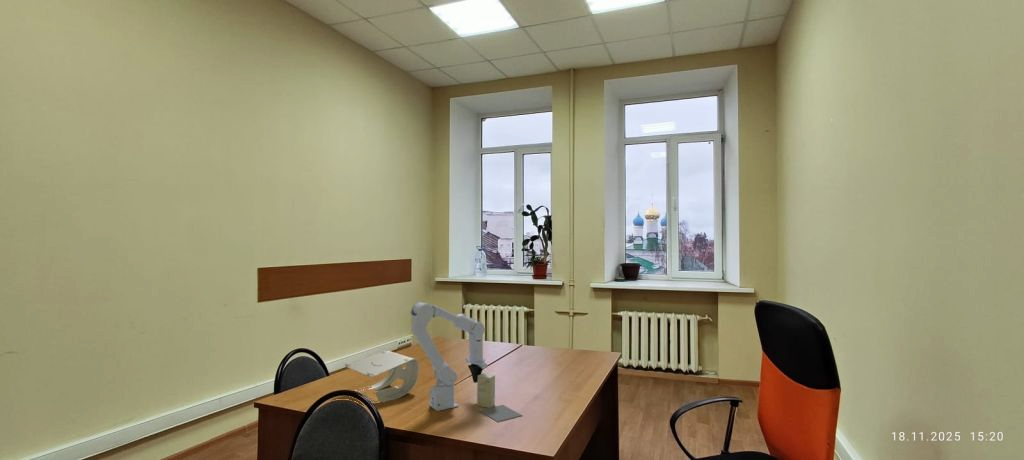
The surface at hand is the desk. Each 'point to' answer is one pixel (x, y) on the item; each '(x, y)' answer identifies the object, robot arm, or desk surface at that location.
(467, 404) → the desk surface
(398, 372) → the portable electronic device stand
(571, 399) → the desk surface
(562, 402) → the desk surface
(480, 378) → the skincare box
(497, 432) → the desk surface
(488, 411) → the mat
